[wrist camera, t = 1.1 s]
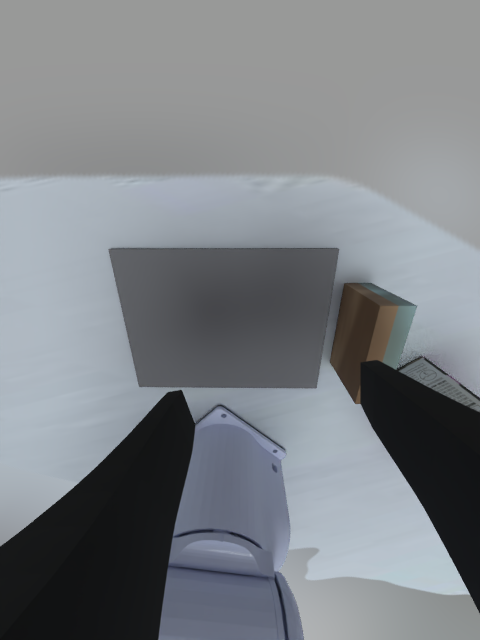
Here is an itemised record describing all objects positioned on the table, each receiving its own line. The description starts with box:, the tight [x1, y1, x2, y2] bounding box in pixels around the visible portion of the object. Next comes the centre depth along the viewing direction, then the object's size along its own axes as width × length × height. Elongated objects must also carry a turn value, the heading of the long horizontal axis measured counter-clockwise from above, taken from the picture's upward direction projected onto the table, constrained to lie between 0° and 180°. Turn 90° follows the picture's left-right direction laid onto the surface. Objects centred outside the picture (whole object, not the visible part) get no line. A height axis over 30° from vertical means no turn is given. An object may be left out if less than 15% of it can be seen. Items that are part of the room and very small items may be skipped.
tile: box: [330, 283, 417, 404], centre depth 16 cm, size 2×7×5 cm, turn 0°
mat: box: [109, 248, 339, 388], centre depth 18 cm, size 16×12×1 cm
